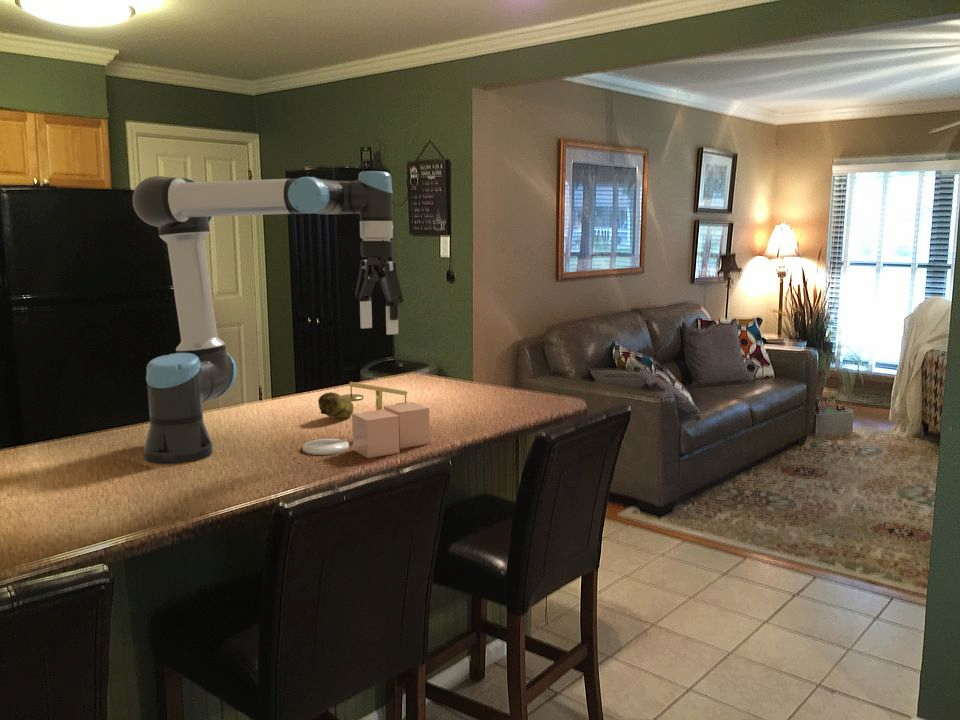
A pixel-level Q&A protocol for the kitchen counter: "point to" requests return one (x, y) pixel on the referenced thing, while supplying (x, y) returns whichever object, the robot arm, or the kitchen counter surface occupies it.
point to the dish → (325, 446)
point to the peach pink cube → (411, 423)
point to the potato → (335, 406)
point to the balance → (378, 389)
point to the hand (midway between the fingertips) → (379, 331)
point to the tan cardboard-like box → (375, 433)
